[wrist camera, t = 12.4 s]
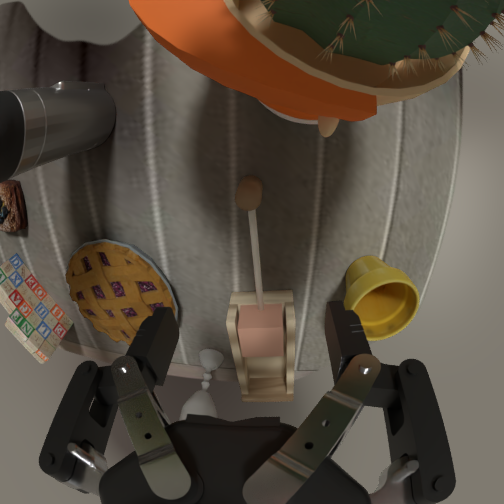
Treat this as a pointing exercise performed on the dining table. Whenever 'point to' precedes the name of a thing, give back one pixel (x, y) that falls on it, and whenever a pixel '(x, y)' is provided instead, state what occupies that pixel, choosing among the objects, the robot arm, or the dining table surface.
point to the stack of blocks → (31, 310)
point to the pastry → (12, 207)
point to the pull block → (257, 288)
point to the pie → (117, 287)
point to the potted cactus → (322, 49)
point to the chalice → (204, 387)
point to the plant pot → (380, 297)
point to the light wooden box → (264, 368)
